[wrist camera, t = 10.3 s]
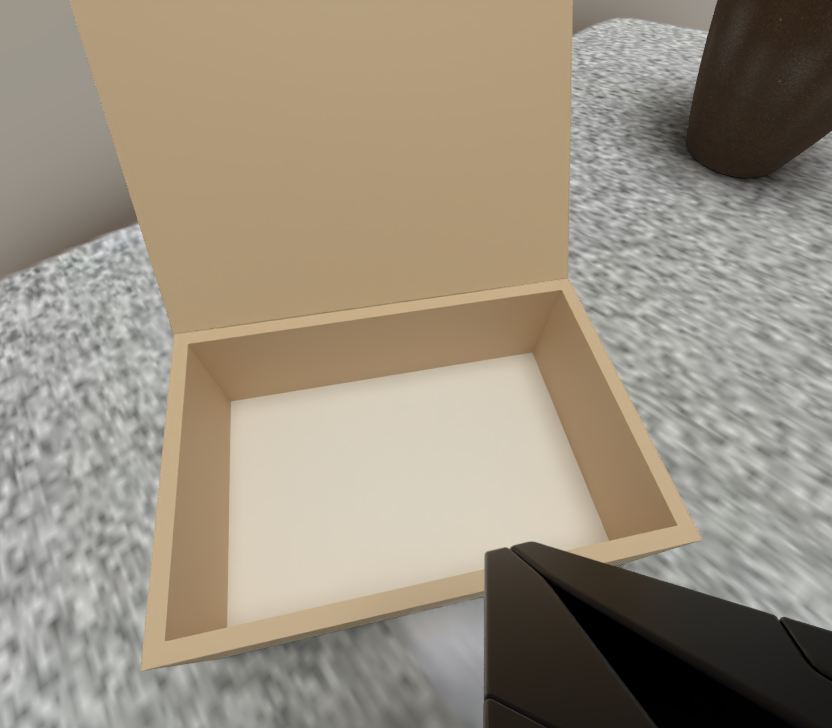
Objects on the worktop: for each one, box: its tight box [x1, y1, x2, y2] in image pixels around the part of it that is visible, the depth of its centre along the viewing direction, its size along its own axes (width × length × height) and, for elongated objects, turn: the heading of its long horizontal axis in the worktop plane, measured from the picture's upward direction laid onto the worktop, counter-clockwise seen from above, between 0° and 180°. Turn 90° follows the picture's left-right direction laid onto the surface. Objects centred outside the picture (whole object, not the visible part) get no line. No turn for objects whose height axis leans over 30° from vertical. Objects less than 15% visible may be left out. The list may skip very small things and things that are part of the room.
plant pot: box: [686, 0, 832, 178], centre depth 30 cm, size 15×15×16 cm
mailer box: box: [141, 279, 702, 671], centre depth 19 cm, size 12×18×6 cm, turn 102°
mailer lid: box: [69, 0, 573, 334], centre depth 18 cm, size 12×18×1 cm
